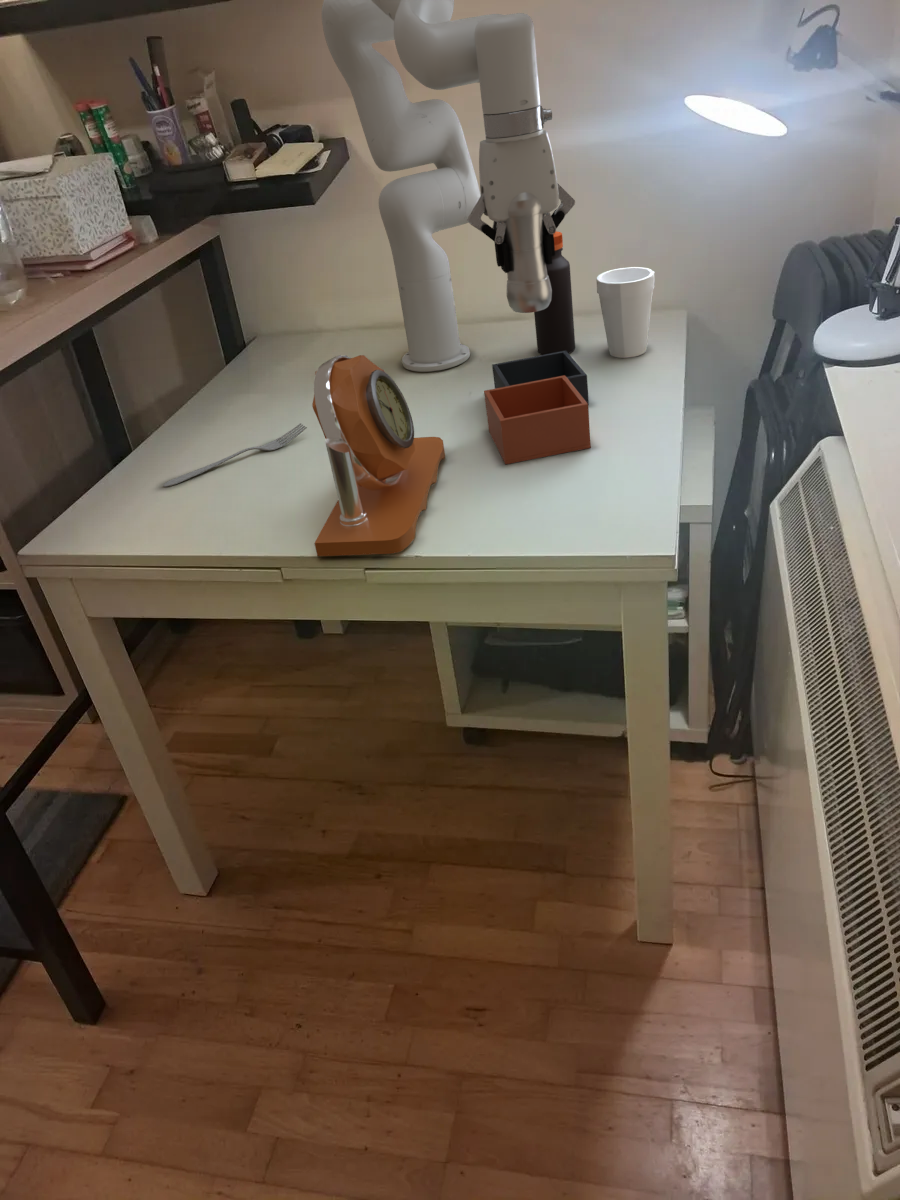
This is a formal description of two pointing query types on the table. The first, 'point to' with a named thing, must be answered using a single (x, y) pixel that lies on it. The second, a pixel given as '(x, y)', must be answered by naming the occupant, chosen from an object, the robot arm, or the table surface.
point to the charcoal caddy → (541, 371)
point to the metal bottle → (526, 256)
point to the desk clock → (371, 459)
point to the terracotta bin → (537, 419)
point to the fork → (269, 446)
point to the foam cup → (626, 309)
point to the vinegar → (557, 307)
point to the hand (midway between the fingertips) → (526, 265)
